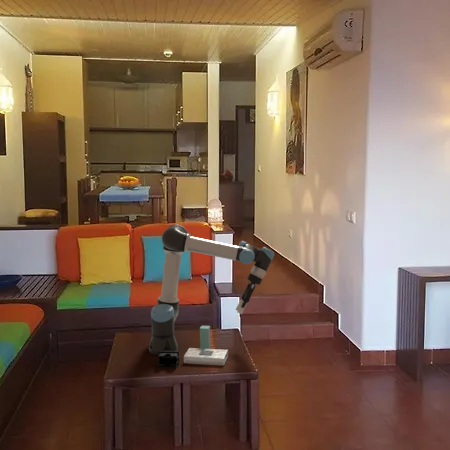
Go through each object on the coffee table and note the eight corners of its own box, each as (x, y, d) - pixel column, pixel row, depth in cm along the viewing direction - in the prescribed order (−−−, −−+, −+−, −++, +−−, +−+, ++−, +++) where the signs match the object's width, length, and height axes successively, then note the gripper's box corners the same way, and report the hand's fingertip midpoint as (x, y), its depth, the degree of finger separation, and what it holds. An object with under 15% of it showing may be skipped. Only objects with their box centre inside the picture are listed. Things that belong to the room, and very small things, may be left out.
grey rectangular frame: (183, 363, 280) (183, 356, 279) (189, 354, 292) (189, 347, 291) (223, 365, 277) (223, 358, 276) (227, 356, 288) (227, 349, 288)
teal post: (200, 350, 297) (199, 328, 296) (202, 347, 302) (201, 325, 300) (208, 350, 297) (208, 328, 295) (210, 347, 301) (210, 326, 299)
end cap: (179, 362, 281) (179, 349, 280) (178, 368, 274) (177, 354, 273) (159, 362, 282) (159, 349, 281) (157, 367, 275) (157, 354, 274)
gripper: (265, 279, 288) (246, 317, 286) (260, 278, 313) (243, 313, 311) (252, 273, 288) (233, 311, 286) (248, 272, 313) (231, 306, 311)
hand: (238, 312), depth 299 cm, fingers open, 13 cm apart
